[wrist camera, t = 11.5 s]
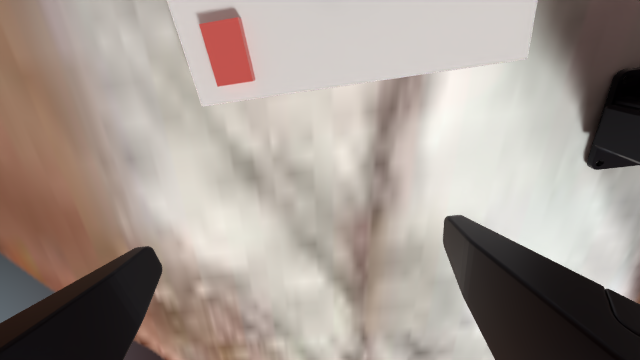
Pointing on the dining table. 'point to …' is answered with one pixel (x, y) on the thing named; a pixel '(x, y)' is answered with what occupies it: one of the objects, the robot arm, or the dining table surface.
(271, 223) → the dining table surface
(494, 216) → the dining table surface
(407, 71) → the socket plate
